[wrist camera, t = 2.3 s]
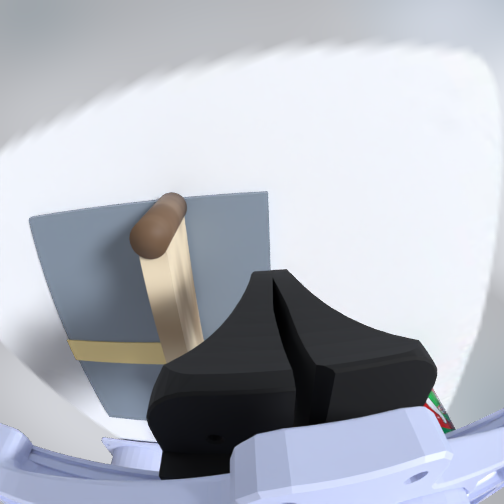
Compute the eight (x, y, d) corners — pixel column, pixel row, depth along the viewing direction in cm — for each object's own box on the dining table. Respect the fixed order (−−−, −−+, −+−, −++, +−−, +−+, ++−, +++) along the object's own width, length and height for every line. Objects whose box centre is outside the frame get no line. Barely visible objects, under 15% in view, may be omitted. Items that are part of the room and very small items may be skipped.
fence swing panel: (207, 343, 19) (201, 397, 15) (183, 343, 19) (172, 396, 15) (185, 191, 15) (165, 218, 11) (155, 194, 15) (126, 222, 11)
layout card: (272, 416, 24) (273, 420, 24) (108, 413, 24) (107, 417, 23) (267, 191, 16) (268, 193, 16) (29, 217, 16) (25, 219, 16)
